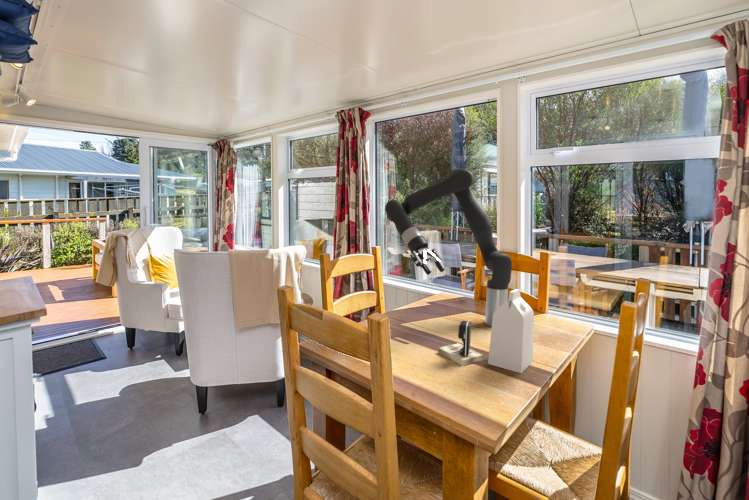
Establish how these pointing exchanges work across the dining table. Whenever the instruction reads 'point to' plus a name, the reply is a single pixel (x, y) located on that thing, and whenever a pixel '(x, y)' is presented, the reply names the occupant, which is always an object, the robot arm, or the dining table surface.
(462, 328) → the dark upright piece
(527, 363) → the milk
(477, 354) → the board
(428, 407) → the dining table surface
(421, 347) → the dining table surface
